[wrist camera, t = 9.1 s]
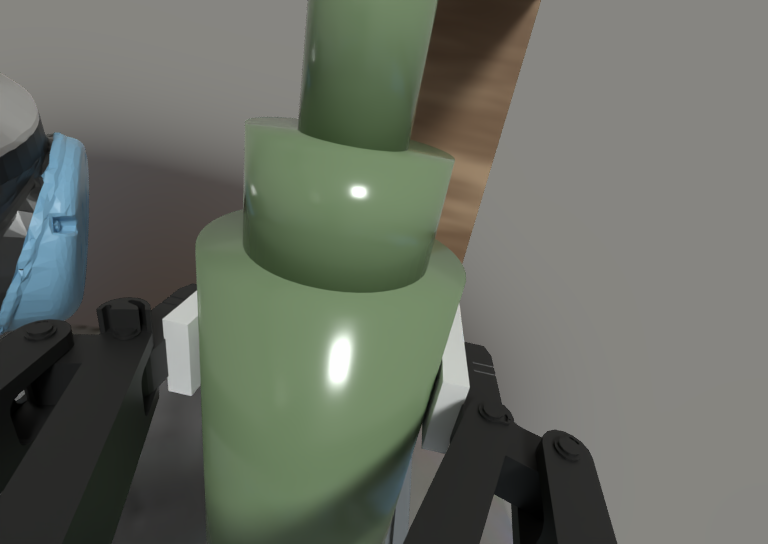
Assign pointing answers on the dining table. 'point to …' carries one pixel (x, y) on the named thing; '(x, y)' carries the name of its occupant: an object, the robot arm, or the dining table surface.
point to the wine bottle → (327, 293)
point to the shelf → (470, 98)
